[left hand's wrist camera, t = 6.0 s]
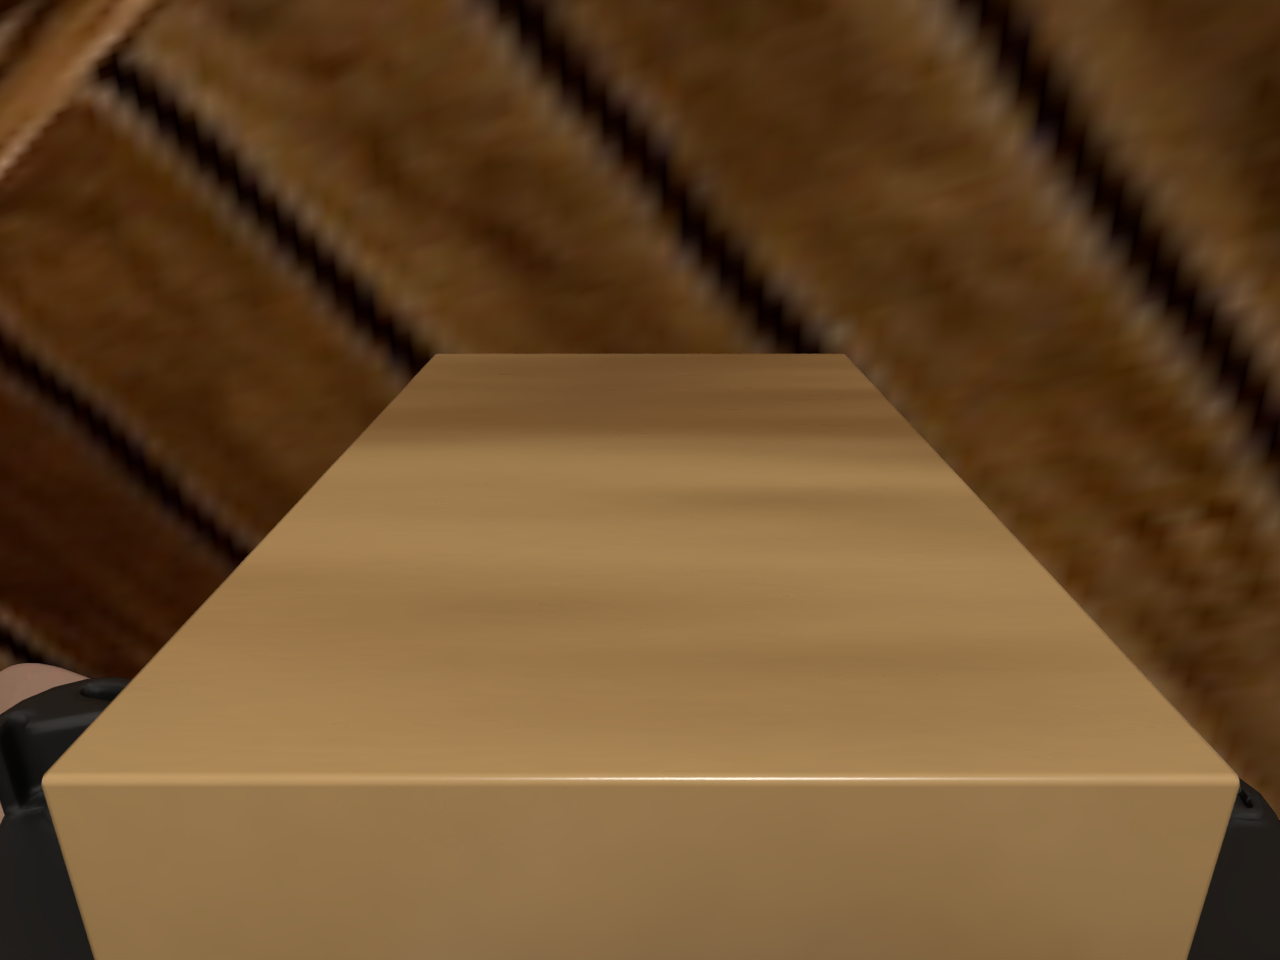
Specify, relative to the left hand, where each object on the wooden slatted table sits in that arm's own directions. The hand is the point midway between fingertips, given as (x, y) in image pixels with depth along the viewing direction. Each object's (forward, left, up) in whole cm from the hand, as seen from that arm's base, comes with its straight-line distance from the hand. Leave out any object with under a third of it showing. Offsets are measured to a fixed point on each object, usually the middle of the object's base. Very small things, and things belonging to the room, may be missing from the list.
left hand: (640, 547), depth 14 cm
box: (-5, +5, 0) cm, 8 cm away
